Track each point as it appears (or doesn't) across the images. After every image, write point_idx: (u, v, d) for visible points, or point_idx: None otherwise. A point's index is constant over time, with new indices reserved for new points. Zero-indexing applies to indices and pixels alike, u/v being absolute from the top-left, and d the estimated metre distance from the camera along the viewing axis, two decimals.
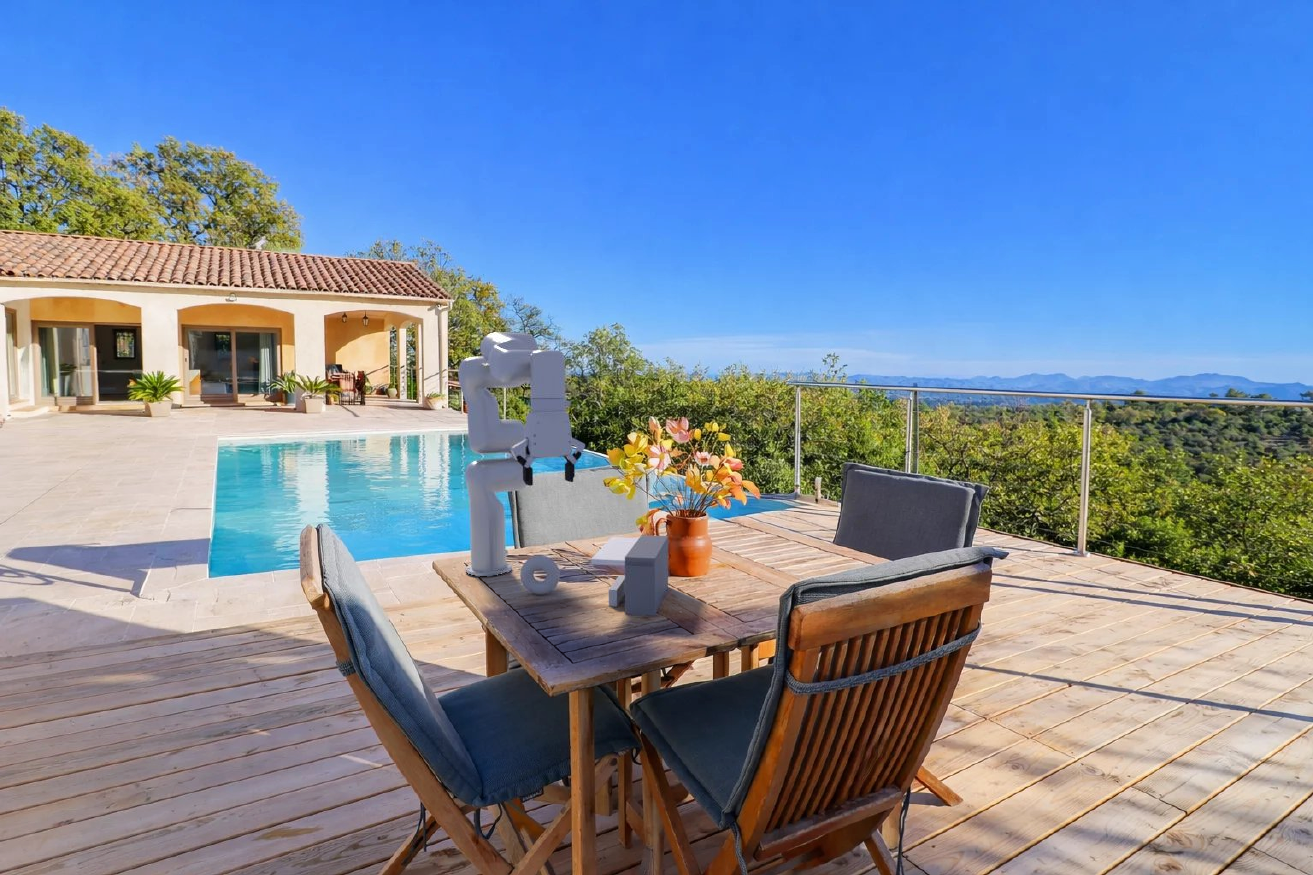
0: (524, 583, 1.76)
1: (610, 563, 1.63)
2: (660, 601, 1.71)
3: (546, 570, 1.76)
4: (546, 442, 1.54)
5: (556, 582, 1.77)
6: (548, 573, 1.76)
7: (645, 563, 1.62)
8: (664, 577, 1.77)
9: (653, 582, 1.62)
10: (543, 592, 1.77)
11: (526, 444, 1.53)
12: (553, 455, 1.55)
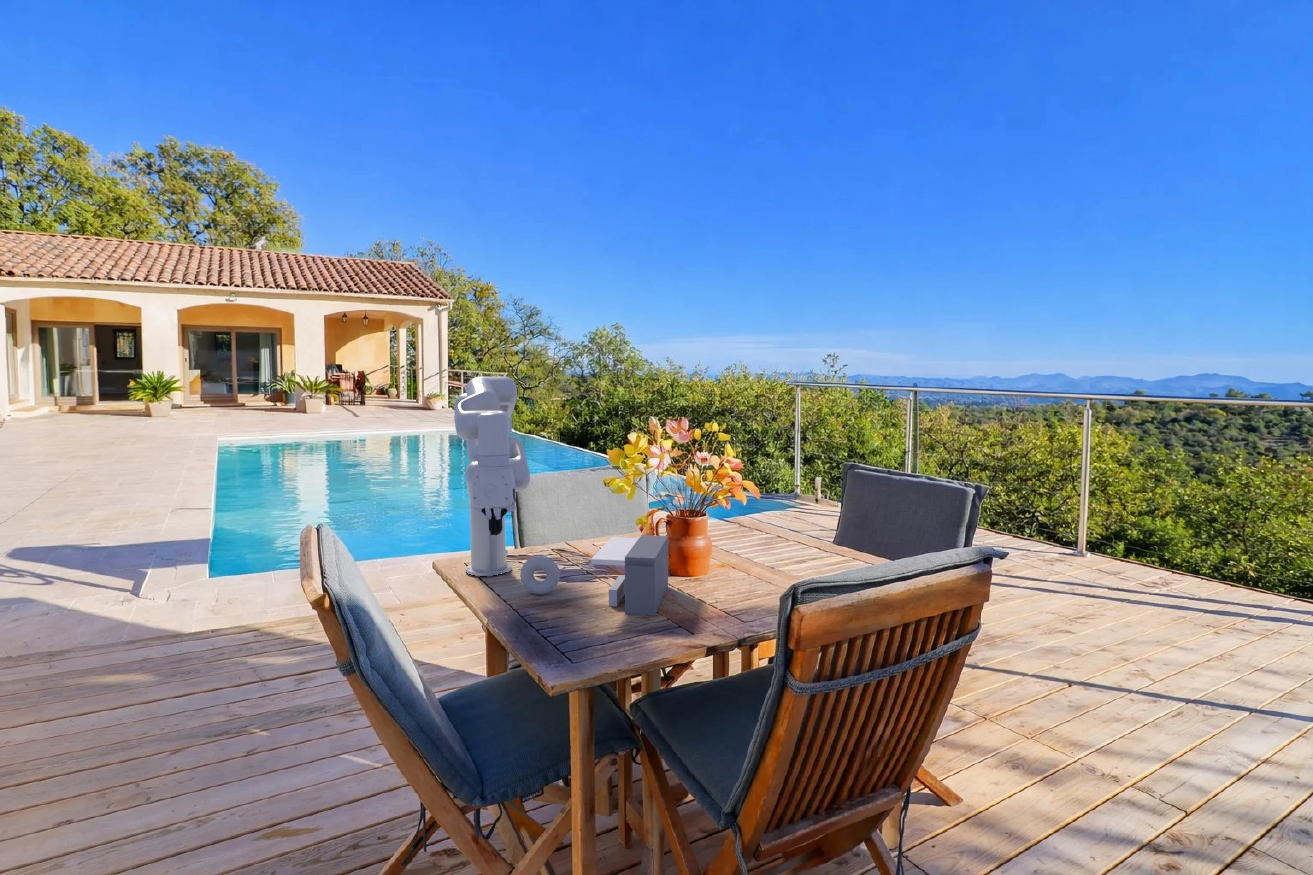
0: (524, 583, 1.76)
1: (610, 563, 1.63)
2: (660, 601, 1.71)
3: (546, 570, 1.76)
4: None
5: (556, 582, 1.77)
6: (548, 573, 1.76)
7: (645, 563, 1.62)
8: (664, 577, 1.77)
9: (653, 582, 1.62)
10: (543, 592, 1.77)
11: None
12: None
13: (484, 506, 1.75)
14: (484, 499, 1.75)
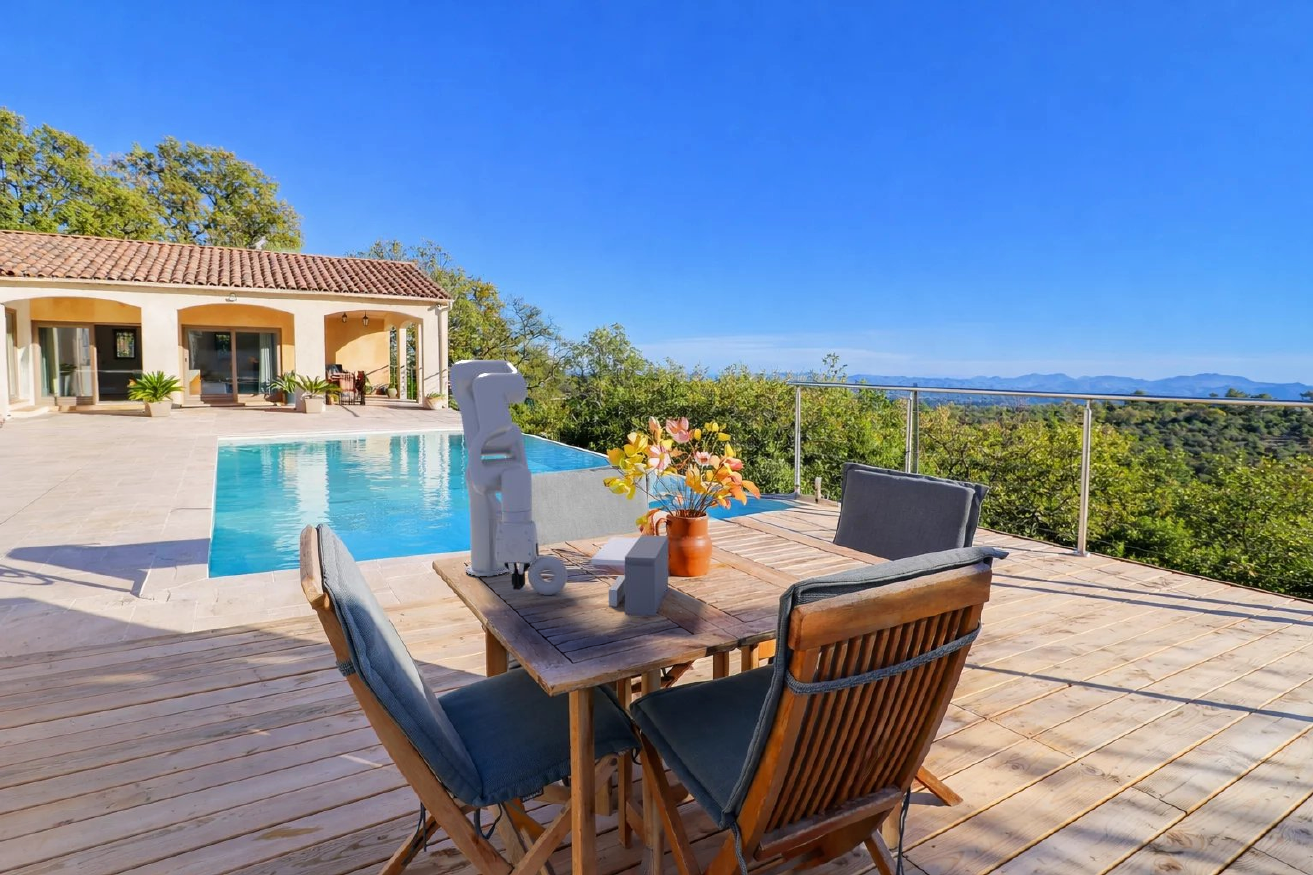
0: (532, 583, 1.76)
1: (610, 563, 1.63)
2: (660, 601, 1.71)
3: (554, 570, 1.75)
4: None
5: (564, 582, 1.76)
6: (556, 573, 1.75)
7: (645, 563, 1.62)
8: (664, 577, 1.77)
9: (653, 582, 1.62)
10: (551, 592, 1.76)
11: None
12: None
13: (507, 561, 1.75)
14: (507, 554, 1.75)
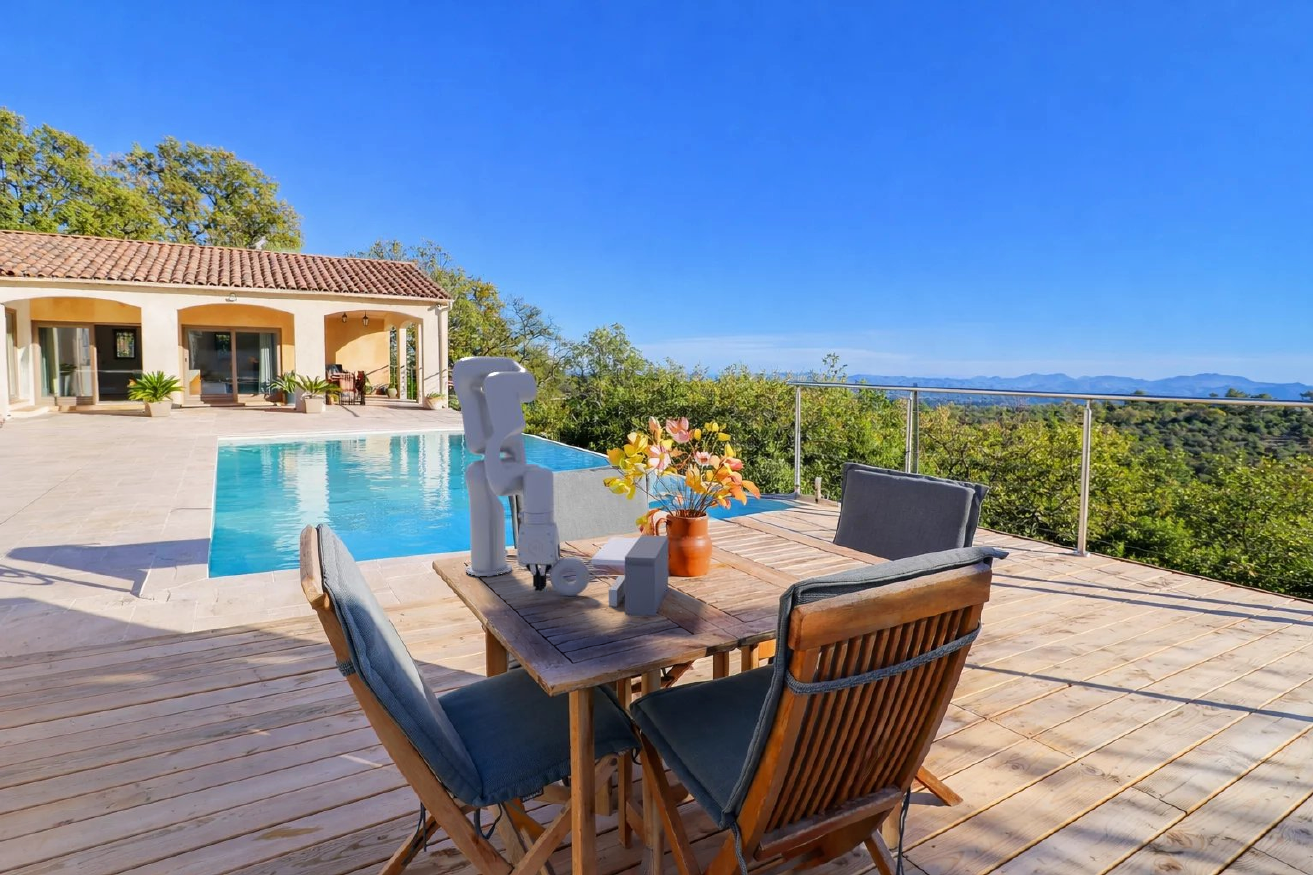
0: (554, 584, 1.75)
1: (610, 563, 1.63)
2: (660, 601, 1.71)
3: (576, 571, 1.75)
4: None
5: (586, 583, 1.75)
6: (578, 574, 1.75)
7: (645, 563, 1.62)
8: (664, 577, 1.77)
9: (653, 582, 1.62)
10: (573, 593, 1.75)
11: None
12: None
13: (529, 563, 1.75)
14: (529, 556, 1.74)
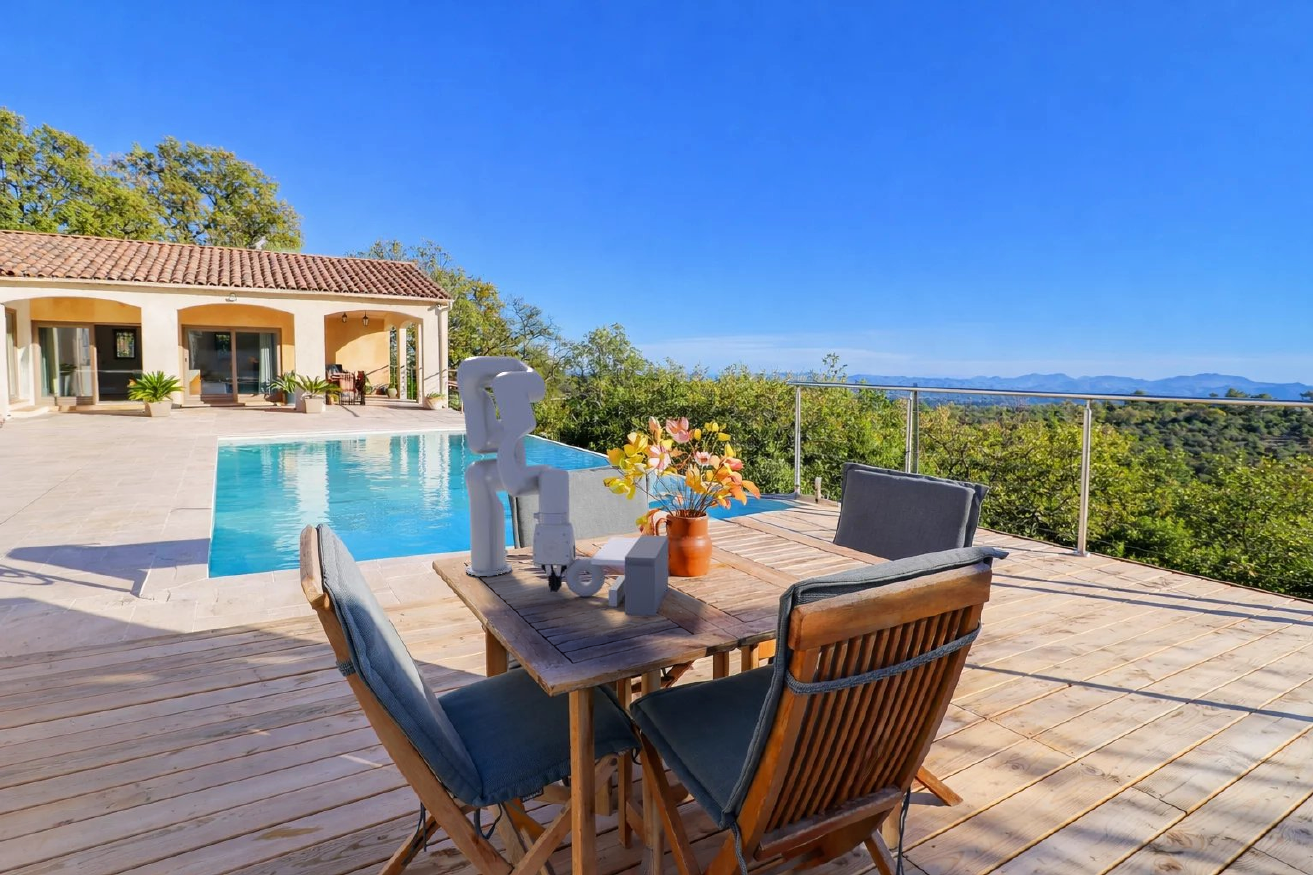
0: (569, 585, 1.75)
1: (610, 563, 1.63)
2: (660, 601, 1.71)
3: (591, 572, 1.74)
4: None
5: (601, 584, 1.75)
6: (594, 575, 1.74)
7: (645, 563, 1.62)
8: (664, 577, 1.77)
9: (653, 582, 1.62)
10: (588, 594, 1.75)
11: None
12: None
13: (544, 563, 1.74)
14: (545, 556, 1.74)
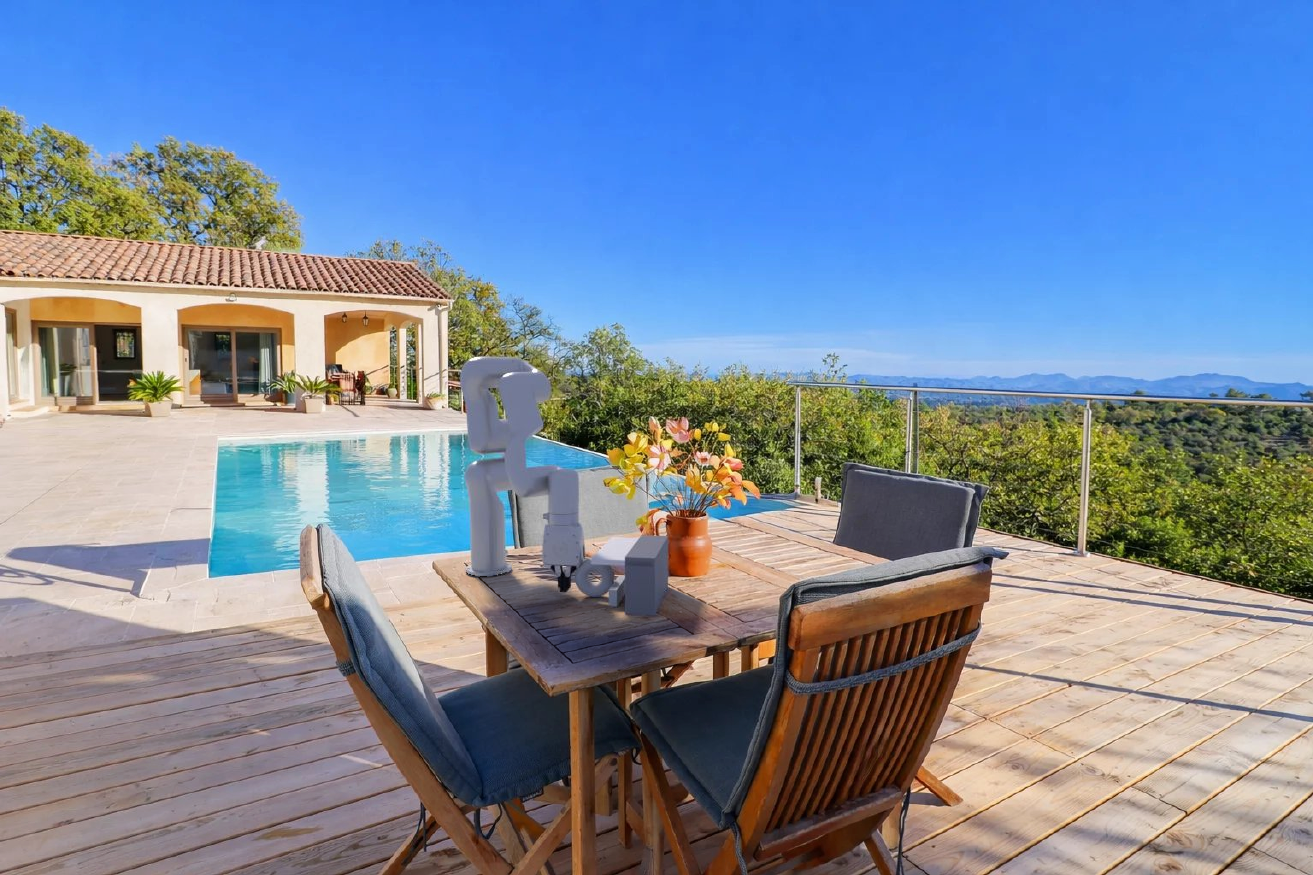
0: (579, 585, 1.74)
1: (610, 563, 1.63)
2: (660, 601, 1.71)
3: (601, 572, 1.74)
4: None
5: (611, 584, 1.75)
6: (604, 575, 1.74)
7: (645, 563, 1.62)
8: (664, 577, 1.77)
9: (653, 582, 1.62)
10: (598, 594, 1.75)
11: None
12: None
13: (554, 564, 1.74)
14: (554, 557, 1.73)
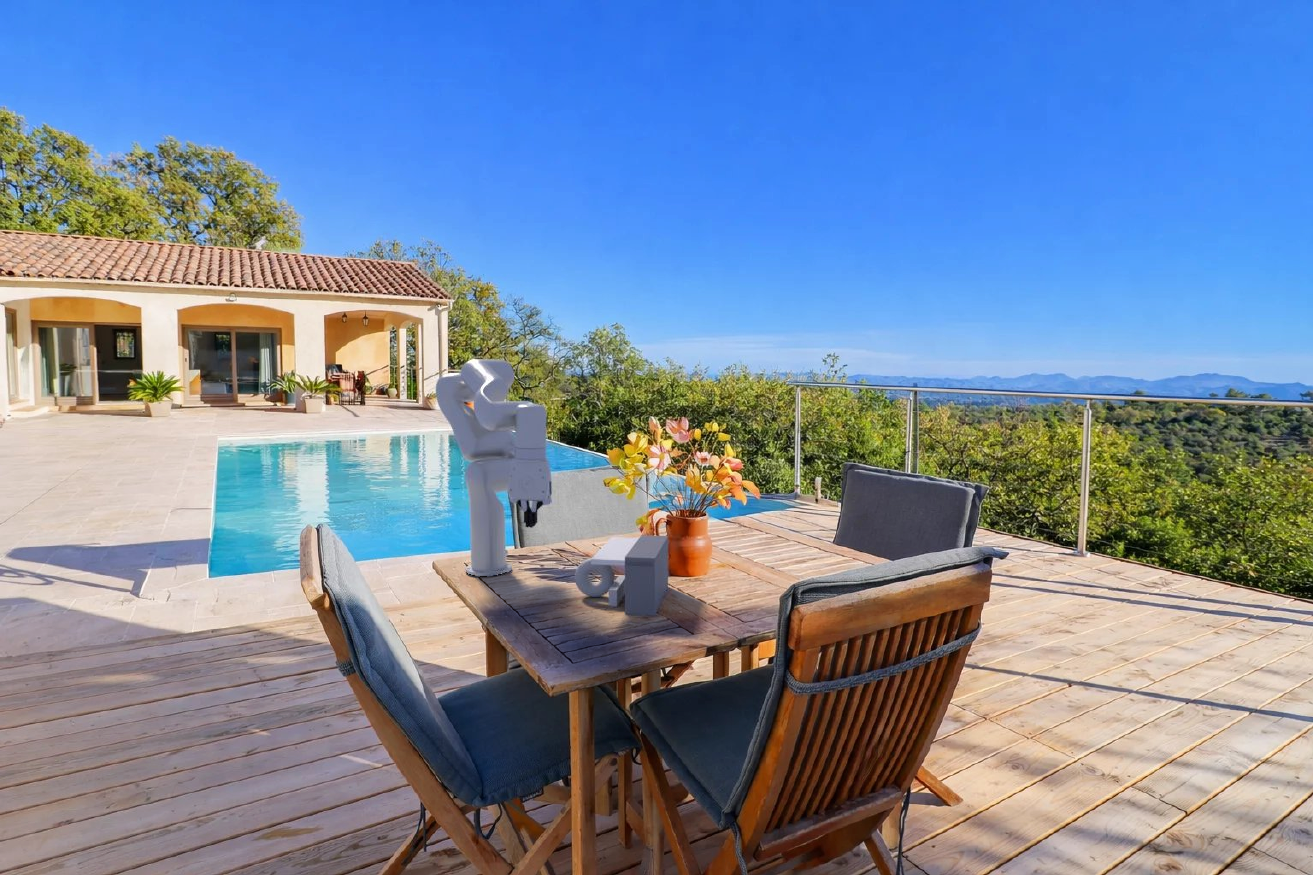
0: (579, 585, 1.74)
1: (610, 563, 1.63)
2: (660, 601, 1.71)
3: (601, 572, 1.74)
4: None
5: (611, 584, 1.75)
6: (604, 575, 1.74)
7: (645, 563, 1.62)
8: (664, 577, 1.77)
9: (653, 582, 1.62)
10: (598, 594, 1.75)
11: None
12: None
13: (520, 498, 1.74)
14: (520, 491, 1.74)
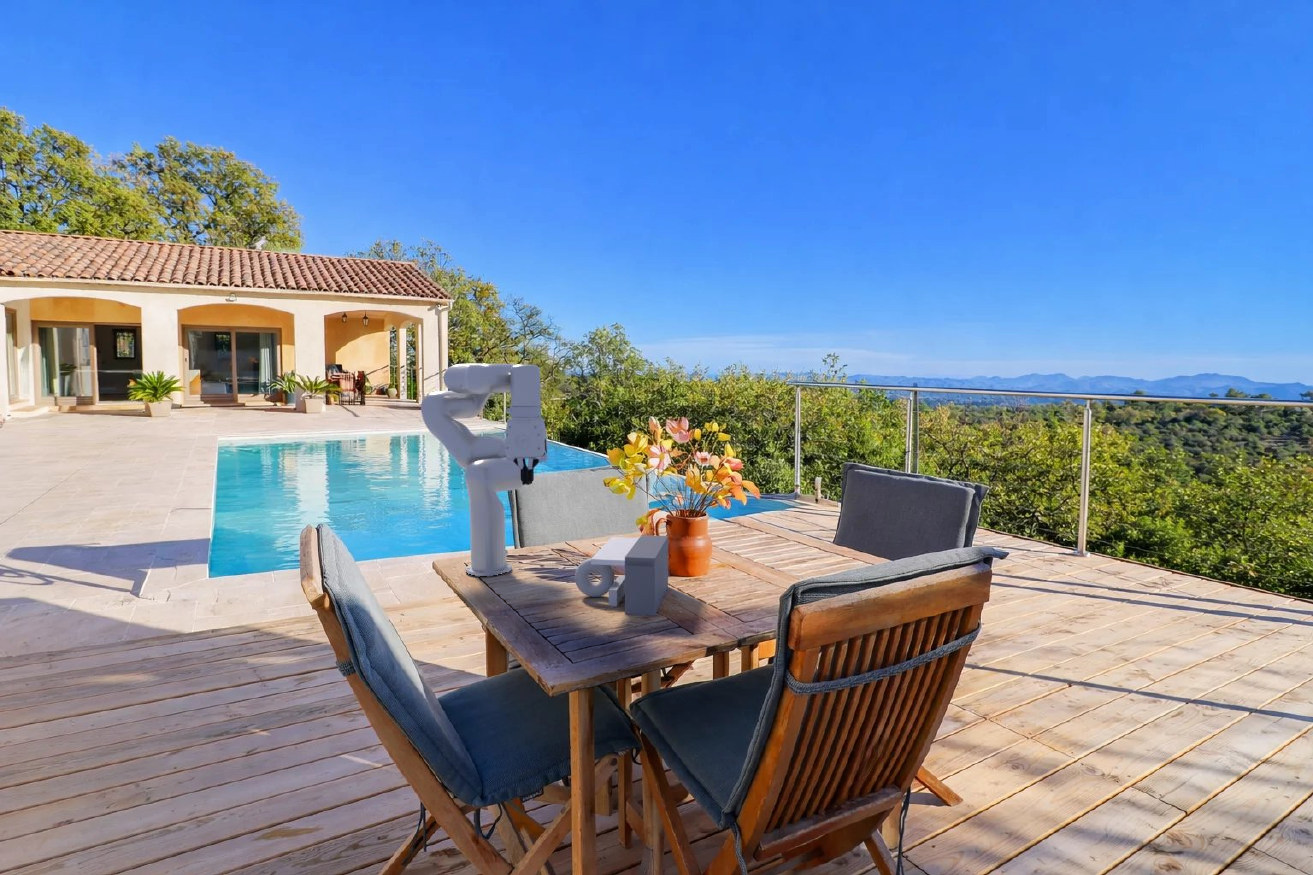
0: (579, 585, 1.74)
1: (610, 563, 1.63)
2: (660, 601, 1.71)
3: (601, 572, 1.74)
4: None
5: (611, 584, 1.75)
6: (604, 575, 1.74)
7: (645, 563, 1.62)
8: (664, 577, 1.77)
9: (653, 582, 1.62)
10: (598, 594, 1.75)
11: None
12: None
13: (516, 456, 1.79)
14: (516, 449, 1.79)
